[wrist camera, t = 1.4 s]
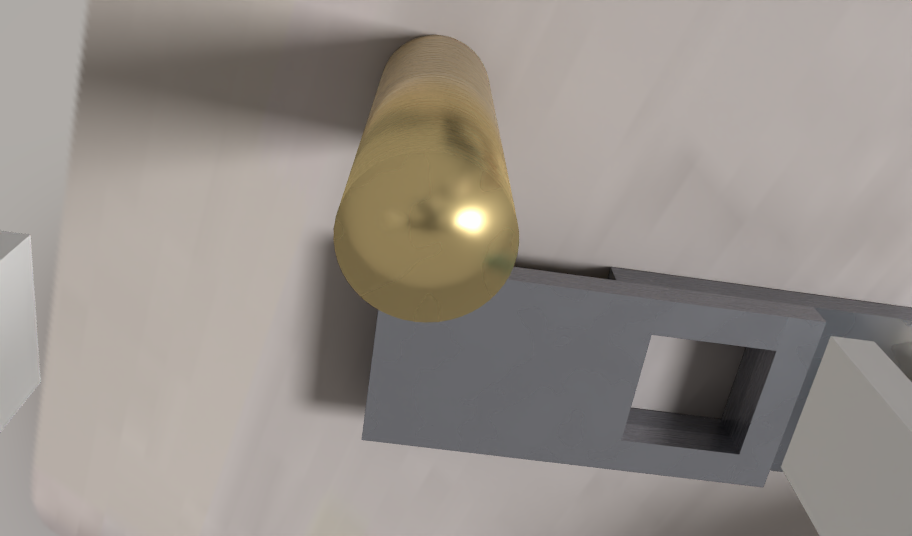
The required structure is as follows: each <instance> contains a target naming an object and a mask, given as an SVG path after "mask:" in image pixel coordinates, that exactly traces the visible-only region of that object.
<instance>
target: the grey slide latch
mask: <svg viewBox="0 0 912 536" xmlns="http://www.w3.org/2000/svg"><path fill="white" fill-rule="evenodd" d="M651 335H658V336H666V337H674V338H681V339H689V340H697V341H704V342H712V343H720V344H727V345H735V346H743V347H746V349H745V352H744V355H743V358H742V361H741V364H740V367H739V369H738V372H737V375H736V378H735V381H734V384H733V387H732V390H731V393H730V396H729V399H728V402H727V405H726V408H725V410H724V413H723V416H722V419H716V418H708V417H700V416H692V415H683V414H675V413H667V412H659V411H651V410H643V409H635V408H631V405H632V401H633V398H634V394H635V391H636V387H637V384H638V380H639V377H640V373H641V370H642V366H643V363H644V359H645V356H646V352H647V349H648V345H649V342H650V338H651ZM831 336H835V337H843V338H851V339H858V340H866V341H874V342H875V343H876V344H877V345H878V346H879V347H880V348H881V349H882V350H883V352H884V353H885V354H886V355H887V356H888V357H889V358H890V359H891V360H892V361H893V362H894V363H895V365H896V366H897V367H898V368H899V369H900V370H901V371H902V372H903V373H904V374H905V375H906V377H907V378H908V379H909V380H910V381H911V382H912V308H909V307H901V306H894V305H887V304H879V303H872V302H865V301H857V300H850V299H842V298H835V297H828V296H820V295H813V294H806V293H798V292H791V291H784V290H776V289H769V288H761V287H754V286H747V285H739V284H732V283H725V282H717V281H710V280H703V279H695V278H688V277H681V276H673V275H666V274H658V273H651V272H644V271H636V270H629V269H622V268H614V267H611V269H610V273H609V277H608V279H601V278H594V277H586V276H579V275H572V274H564V273H557V272H549V271H542V270H535V269H527V268H520V267H513V269H512V271H511V274H510V276H509V277H508V279H507V281H506V282H505V284H504V285H503V286H502V288H501V289H500V290H499V291H498V293H497V294H496V295H495V296H493V297H492V298H491V299H490V300H489V301H488V302H487V303H485V304H484V305H483V306H481V307H480V308H478V309H476V310H474V311H473V312H471V313H469V314H466V315H464V316H461V317H459V318H455V319H452V320H447V321H441V322H428V323H425V322H413V321H408V320H403V319H399V318H396V317H393V316H390V315H388V314H386V313H384V312H381V311H380V310H378V316H377V324H376V332H375V339H374V347H373V355H372V363H371V371H370V379H369V386H368V394H367V402H366V410H365V418H364V425H363V433H362V440H367V441H376V442H384V443H392V444H401V445H409V446H418V447H426V448H435V449H443V450H452V451H460V452H469V453H477V454H486V455H494V456H502V457H511V458H519V459H528V460H536V461H545V462H553V463H562V464H570V465H579V466H587V467H595V468H604V469H612V470H621V471H629V472H638V473H646V474H655V475H663V476H672V477H680V478H689V479H697V480H705V481H714V482H722V483H731V484H739V485H748V486H756V487H764V484H765V482H766V479H767V476H768V474H769V471H770V470H771V471H779V472H783V470H782V469H781V465H782V463H783V460H784V458H785V455H786V452H787V450H788V447H789V444H790V442H791V439H792V437H793V434H794V431H795V429H796V426H797V423H798V421H799V418H800V415H801V413H802V410H803V408H804V405H805V402H806V400H807V397H808V394H809V392H810V389H811V387H812V384H813V381H814V379H815V376H816V373H817V371H818V368H819V366H820V363H821V360H822V358H823V355H824V352H825V350H826V347H827V345H828V342H829V339H830V337H831Z"/></svg>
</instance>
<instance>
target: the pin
mask: <svg viewBox="0 0 912 536" xmlns="http://www.w3.org/2000/svg"><path fill="white" fill-rule="evenodd" d="M518 246H519V229H518V223H517V218H516V213H515V208H514V203H513V198H512V193H511V188H510V183H509V178H508V173H507V168H506V163H505V158H504V153H503V148H502V144H501V139H500V134H499V129H498V124H497V119H496V114H495V109H494V104H493V99H492V94H491V89H490V84H489V79H488V76H487V72H486V70H485V67H484V65H483V63H482V62H481V60H480V58H479V57H478V56H477V55H476V53H475V52H474V51H473V50H472V49H470V48H469V47H468V46H467V45H465V44H464V43H462V42H460V41H458V40H456V39H453V38H451V37H447V36H441V35H427V36H422V37H418V38H415V39H413V40H411V41H409V42H407V43H405V44H404V45H402V46H401V47H400V48H399V49H398V50H396V51H395V53H394V54H393V55H392V56H391V57H390V59H389V60H388V62H387V64H386V66H385V68H384V71H383V74H382V77H381V80H380V83H379V86H378V89H377V92H376V95H375V98H374V101H373V104H372V108H371V111H370V114H369V117H368V120H367V123H366V126H365V129H364V132H363V135H362V138H361V141H360V144H359V148H358V151H357V154H356V157H355V160H354V163H353V166H352V169H351V172H350V175H349V178H348V181H347V184H346V187H345V191H344V194H343V197H342V200H341V203H340V206H339V209H338V212H337V215H336V219H335V225H334V248H335V253H336V257H337V261H338V264H339V266H340V268H341V271H342V273H343V275H344V276H345V278H346V280H347V281H348V283H349V284H350V285H351V287H352V288H353V289H354V291H355V292H356V293H357V294H358V295H359V296H360V297H361V298H362V299H364V300H365V301H366V302H368V303H369V304H370V305H371V306H373V307H375V308H376V309H378V310H380V311H381V312H384V313H386V314H388V315H390V316H393V317H396V318H399V319H403V320H408V321H413V322H425V323H428V322H441V321H447V320H452V319H455V318H459V317H461V316H464V315H466V314H469V313H471V312H473V311H474V310H476V309H478V308H480V307H481V306H483V305H484V304H485V303H487V302H488V301H489V300H490V299H491V298H492V297H493V296H495V295H496V294H497V293H498V291H499V290H500V289H501V288H502V286H503V285H504V284H505V282H506V281H507V279H508V277H509V276H510V274H511V271H512V269H513V267H514V264H515V261H516V257H517V254H518Z"/></svg>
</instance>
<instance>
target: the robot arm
mask: <svg viewBox="0 0 912 536" xmlns="http://www.w3.org/2000/svg"><path fill="white" fill-rule="evenodd" d="M40 383H41V379H40V364H39V350H38V337H37V322H36V307H35V293H34V279H33V264H32V251H31V236H30V234H22V233H14V232H6V231H0V433H1V431H2V430H3V429H4V428H5V426H6V425H7V424H8V423H9V421H10V420H11V419H12V417H13V416H14V415H15V414H16V413H17V411H18V410H19V409H20V407H21V406H22V405H23V404H24V403H25V401H26V400H27V399H28V398H29V396H30V395H31V394H32V393H33V391H34V390H35V389H36V388H37V386H38V385H39V384H40ZM781 469H782V470H783V472H784V474H785V476H786V477H787V479H788V481H789V483H790V484H791V486H792V488H793V490H794V491H795V493H796V495H797V497H798V499H799V500H800V502H801V504H802V506H803V507H804V509H805V511H806V513H807V514H808V516H809V518H810V520H811V521H812V523H813V525H814V527H815V528H816V530H817V532H818V534H819V536H912V382H911V381H910V380H909V379H908V378H907V377H906V375H905V374H904V373H903V372H902V371H901V370H900V369H899V368H898V367H897V366H896V365H895V363H894V362H893V361H892V360H891V359H890V358H889V357H888V356H887V355H886V354H885V353H884V352H883V350H882V349H881V348H880V347H879V346H878V345H877V344H876V343H875V342H874V341H866V340H858V339H851V338H843V337H835V336H831V337H830V339H829V342H828V345H827V347H826V350H825V352H824V355H823V358H822V360H821V363H820V366H819V368H818V371H817V373H816V376H815V379H814V381H813V384H812V387H811V389H810V392H809V394H808V397H807V400H806V402H805V405H804V408H803V410H802V413H801V415H800V418H799V421H798V423H797V426H796V429H795V431H794V434H793V437H792V439H791V442H790V444H789V447H788V450H787V452H786V455H785V458H784V460H783V463H782V465H781Z"/></svg>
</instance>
